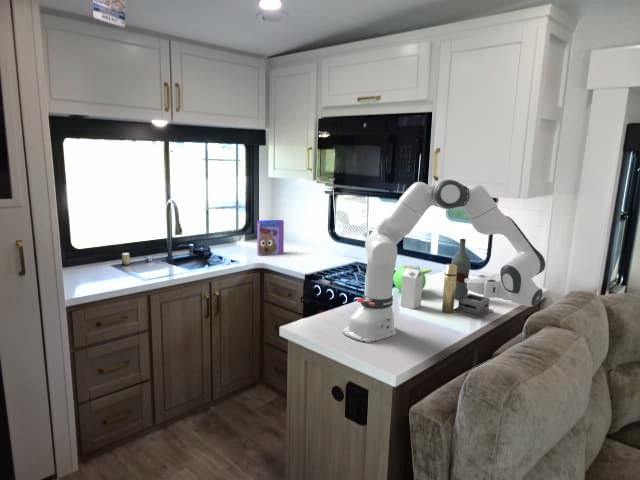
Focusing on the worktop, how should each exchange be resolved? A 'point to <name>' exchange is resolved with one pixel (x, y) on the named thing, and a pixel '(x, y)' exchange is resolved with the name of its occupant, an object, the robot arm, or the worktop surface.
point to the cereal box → (270, 237)
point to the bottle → (461, 270)
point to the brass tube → (449, 288)
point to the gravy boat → (399, 272)
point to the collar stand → (473, 306)
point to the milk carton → (411, 287)
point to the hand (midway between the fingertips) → (473, 278)
